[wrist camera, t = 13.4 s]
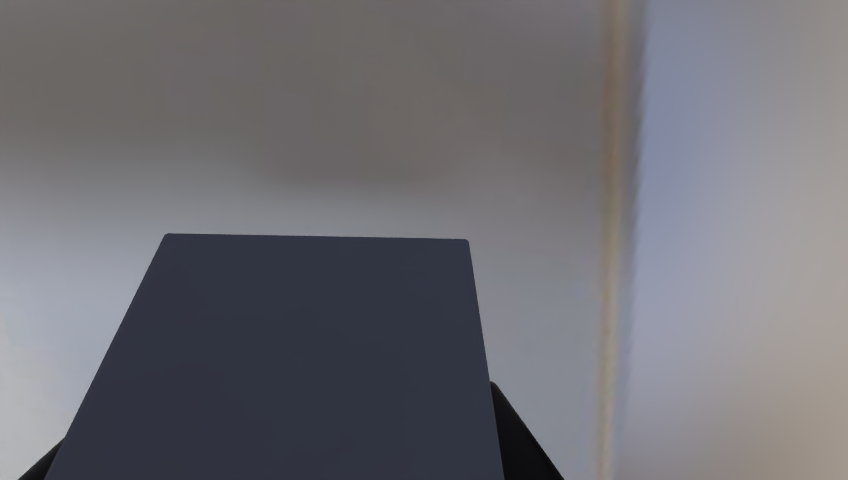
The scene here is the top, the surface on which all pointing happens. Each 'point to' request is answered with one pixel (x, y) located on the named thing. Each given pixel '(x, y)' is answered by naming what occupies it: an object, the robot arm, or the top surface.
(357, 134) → the top surface
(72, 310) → the top surface
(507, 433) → the robot arm
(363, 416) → the block
